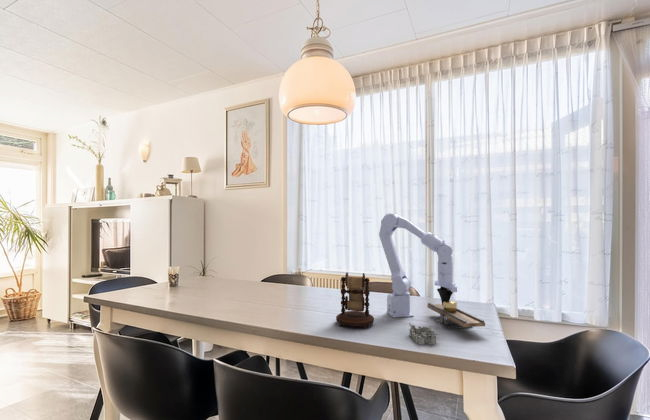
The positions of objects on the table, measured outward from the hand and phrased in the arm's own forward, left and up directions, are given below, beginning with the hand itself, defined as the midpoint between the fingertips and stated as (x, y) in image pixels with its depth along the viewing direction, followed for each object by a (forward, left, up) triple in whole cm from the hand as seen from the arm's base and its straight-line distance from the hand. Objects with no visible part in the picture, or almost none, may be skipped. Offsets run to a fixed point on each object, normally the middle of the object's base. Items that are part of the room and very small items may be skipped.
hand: (445, 306), depth 132 cm
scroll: (-38, 0, -6) cm, 38 cm away
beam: (0, -6, -2) cm, 6 cm away
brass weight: (0, -3, -1) cm, 4 cm away
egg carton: (-19, -19, -6) cm, 27 cm away
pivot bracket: (0, -6, -6) cm, 8 cm away
